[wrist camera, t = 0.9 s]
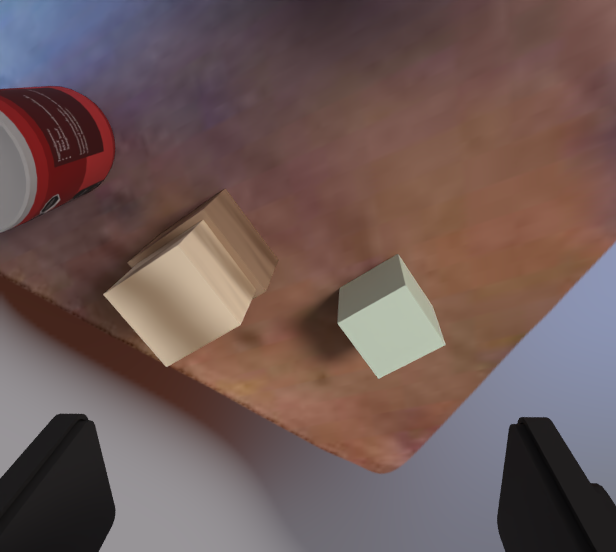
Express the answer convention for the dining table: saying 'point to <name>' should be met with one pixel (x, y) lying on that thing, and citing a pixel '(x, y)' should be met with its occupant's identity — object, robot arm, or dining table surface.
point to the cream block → (225, 239)
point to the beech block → (183, 294)
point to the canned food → (49, 150)
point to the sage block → (388, 317)
